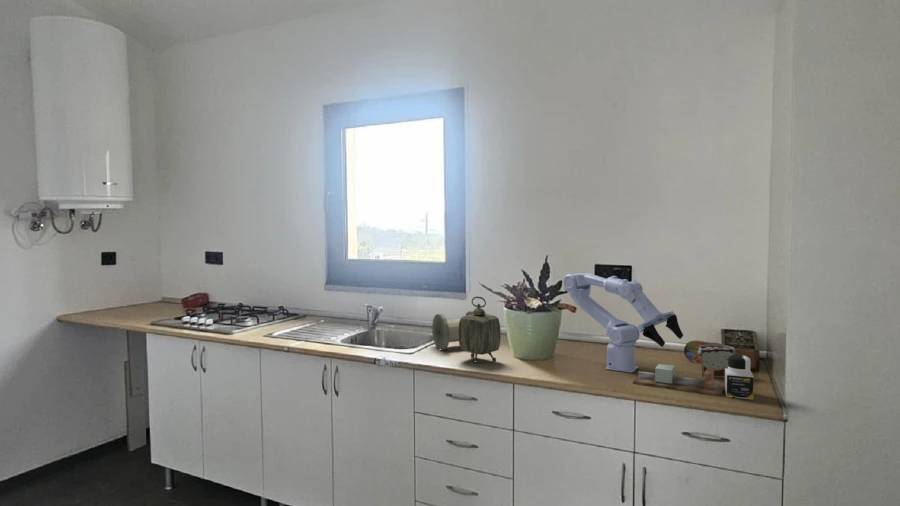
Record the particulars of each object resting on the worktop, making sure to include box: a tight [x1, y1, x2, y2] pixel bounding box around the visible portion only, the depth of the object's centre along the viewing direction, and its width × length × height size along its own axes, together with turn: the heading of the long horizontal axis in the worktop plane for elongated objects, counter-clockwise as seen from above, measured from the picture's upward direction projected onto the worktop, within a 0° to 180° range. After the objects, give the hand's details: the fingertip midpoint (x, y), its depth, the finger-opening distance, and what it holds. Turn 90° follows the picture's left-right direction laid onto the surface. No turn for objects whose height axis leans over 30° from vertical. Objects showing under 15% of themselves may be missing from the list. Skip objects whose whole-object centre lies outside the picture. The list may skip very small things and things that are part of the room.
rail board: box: [632, 368, 725, 397], centre depth 177 cm, size 26×10×6 cm, turn 58°
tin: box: [683, 339, 723, 365], centre depth 202 cm, size 15×3×8 cm, turn 47°
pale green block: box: [654, 363, 676, 384], centre depth 179 cm, size 5×6×4 cm
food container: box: [698, 344, 737, 378], centre depth 188 cm, size 12×6×10 cm, turn 92°
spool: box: [431, 310, 474, 351], centre depth 233 cm, size 16×15×15 cm
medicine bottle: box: [724, 354, 755, 400], centre depth 166 cm, size 7×7×12 cm
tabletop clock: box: [458, 296, 502, 362], centre depth 210 cm, size 14×9×25 cm, turn 48°
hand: (672, 341), depth 180 cm, fingers open, 7 cm apart
